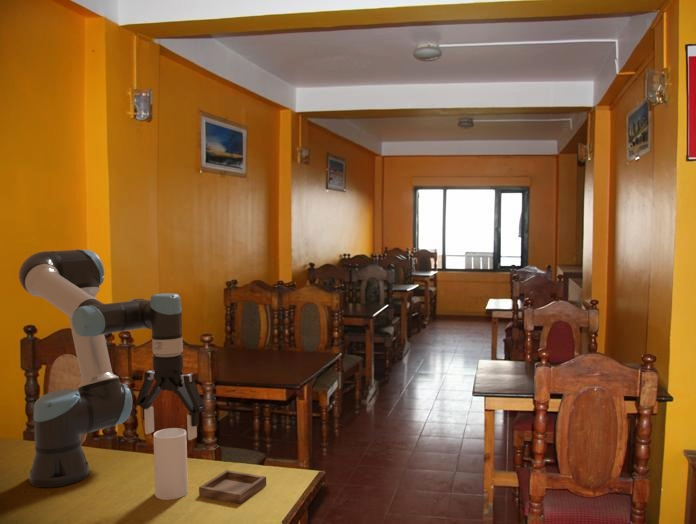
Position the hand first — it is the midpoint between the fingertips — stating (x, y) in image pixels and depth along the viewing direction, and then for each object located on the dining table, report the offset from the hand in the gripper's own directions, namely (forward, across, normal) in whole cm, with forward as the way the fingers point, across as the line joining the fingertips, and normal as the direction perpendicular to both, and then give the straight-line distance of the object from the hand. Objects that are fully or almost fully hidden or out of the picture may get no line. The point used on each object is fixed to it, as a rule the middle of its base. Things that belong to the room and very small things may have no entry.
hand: (170, 435), depth 169 cm
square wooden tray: (+16, +14, +8) cm, 22 cm away
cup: (+16, 0, 0) cm, 16 cm away
